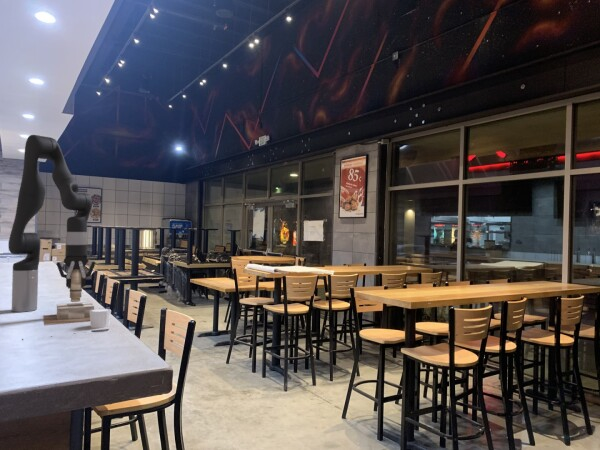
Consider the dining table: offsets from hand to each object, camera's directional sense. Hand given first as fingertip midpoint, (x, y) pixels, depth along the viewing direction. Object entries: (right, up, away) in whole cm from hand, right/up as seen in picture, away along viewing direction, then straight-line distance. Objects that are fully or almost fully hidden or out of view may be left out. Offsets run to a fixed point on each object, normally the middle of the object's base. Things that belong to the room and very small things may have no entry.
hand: (75, 287), depth 166 cm
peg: (0, -5, 0) cm, 5 cm away
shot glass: (+18, -12, -17) cm, 28 cm away
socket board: (0, -12, -5) cm, 13 cm away
